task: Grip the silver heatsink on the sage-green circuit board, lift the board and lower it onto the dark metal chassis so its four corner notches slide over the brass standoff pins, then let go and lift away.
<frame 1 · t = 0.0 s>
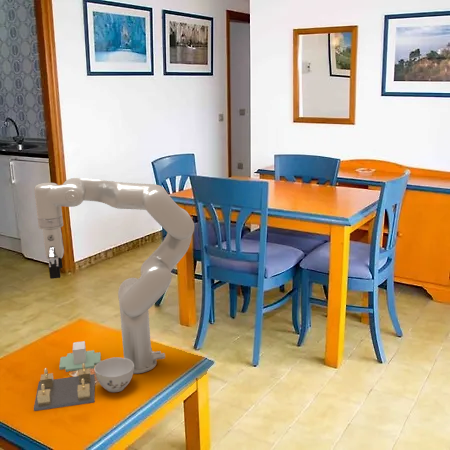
hand: (56, 272, 183), 37 cm above the table, tool pointing down, fingers open, 9 cm apart
chassis: (65, 392, 181), on the table
circuit board: (80, 362, 201), on the table
teacup: (116, 386, 184), on the table
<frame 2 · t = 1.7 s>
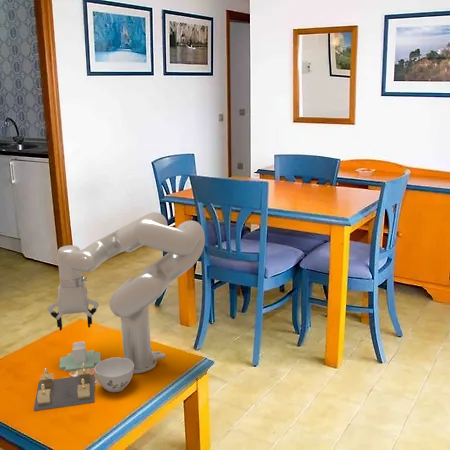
hand: (75, 327, 198), 13 cm above the table, tool pointing down, fingers open, 9 cm apart
nothing on the table moved.
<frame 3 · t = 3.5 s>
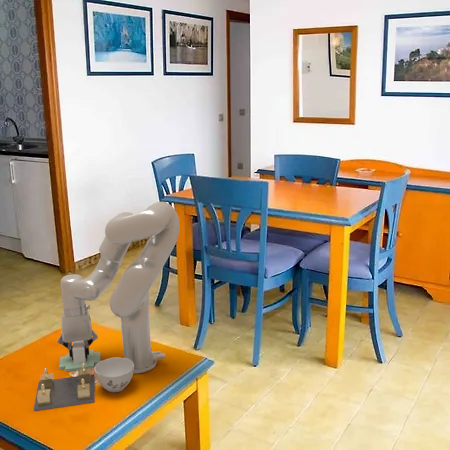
hand: (79, 357, 200), 2 cm above the table, tool pointing down, fingers closed on circuit board, 4 cm apart
circuit board: (80, 361, 201), on the table, touching gripper
everything else where it was.
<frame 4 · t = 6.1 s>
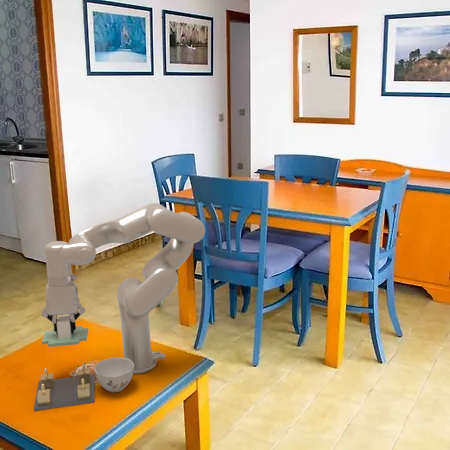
hand: (65, 332, 184), 17 cm above the table, tool pointing down, fingers closed on circuit board, 4 cm apart
circuit board: (65, 337, 185), point 16 cm above the table, touching gripper
everything else where it was.
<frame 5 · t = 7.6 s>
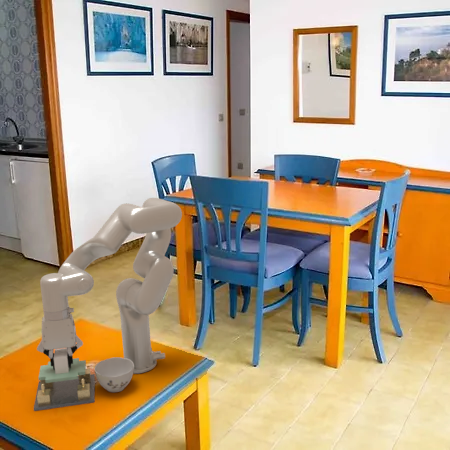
hand: (62, 366, 179), 10 cm above the table, tool pointing down, fingers closed on circuit board, 4 cm apart
circuit board: (62, 371, 179), point 8 cm above the table, touching gripper
everything else where it was.
when the fingers open (7 cm above the table, at t = 8.9 s): circuit board stays where it is, resting on chassis.
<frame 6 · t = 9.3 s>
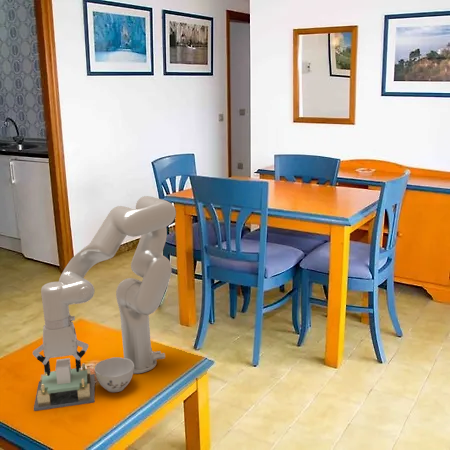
hand: (63, 371, 179), 8 cm above the table, tool pointing down, fingers open, 8 cm apart
circuit board: (64, 381, 180), point 4 cm above the table, touching chassis
everything else where it was.
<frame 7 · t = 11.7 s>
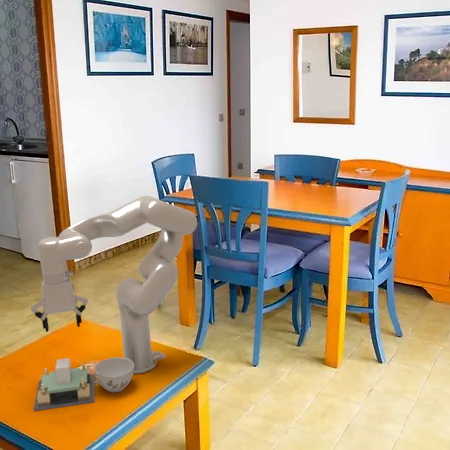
hand: (63, 327, 179), 21 cm above the table, tool pointing down, fingers open, 9 cm apart
nothing on the table moved.
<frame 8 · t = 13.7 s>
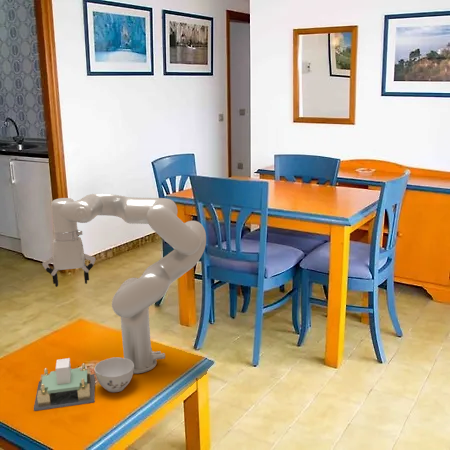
hand: (71, 283, 191), 30 cm above the table, tool pointing down, fingers open, 9 cm apart
nothing on the table moved.
at the end: circuit board 0.1 cm off-centre on the chassis, point 4.0 cm above the chassis's base; circuit board tilted 0°; the gripper is holding nothing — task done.
